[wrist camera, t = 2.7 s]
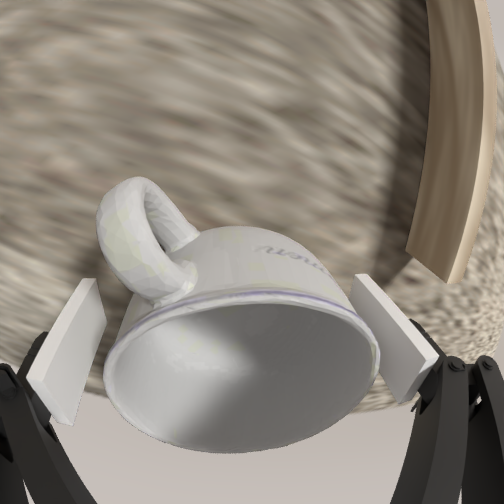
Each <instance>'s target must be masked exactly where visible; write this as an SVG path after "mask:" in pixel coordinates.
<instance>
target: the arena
mask: <svg viewBox="0 0 504 504" xmlns="http://www.w3.org/2000/svg"><path fill="white" fill-rule="evenodd" d="M426 6H427V15H428V26H429V40H430V103H429V118H428V129H427V139H426V148H425V155H424V163H423V169H422V175H421V181H420V187H419V192H418V198H417V202H416V207H415V212H414V216H413V221H412V225H411V229H410V233H409V237H408V241H407V245H406V249H405V251H406V252H408V253H409V254H410V255H411V256H413V257H414V258H415V259H417V260H418V261H419V262H420V263H422V264H423V265H424V266H425V267H427V268H428V269H429V270H430V271H432V272H433V273H434V274H435V275H436V276H438V277H439V278H440V279H441V280H443V281H444V282H445V283H446V284H450V283H457V282H461V280H462V278H463V275H464V272H465V269H466V267H467V264H468V261H469V258H470V255H471V252H472V249H473V245H474V242H475V239H476V235H477V232H478V228H479V225H480V221H481V217H482V213H483V208H484V204H485V200H486V195H487V190H488V185H489V179H490V173H491V167H492V160H493V152H494V142H495V131H496V113H497V79H496V62H495V51H494V42H493V35H492V28H491V22H490V17H489V12H488V7H487V3H486V0H426Z"/></svg>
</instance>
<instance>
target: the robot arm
mask: <svg viewBox="0 0 504 504" xmlns="http://www.w3.org/2000/svg"><path fill="white" fill-rule="evenodd" d="M348 300H349V302H350V303H351V305H352V306H353V308H354V310H355V311H356V313H357V315H358V316H359V317H361V318H362V319H363V320H364V322H365V323H366V324H367V325H368V326H369V328H370V329H371V330H372V332H373V334H374V336H375V338H376V340H377V342H378V346H379V349H380V364H379V373H380V374H381V376H382V377H383V379H384V381H385V382H386V384H387V386H388V387H389V389H390V391H391V392H392V394H393V396H394V397H395V399H396V401H397V402H398V404H401V403H404V402H407V401H410V400H412V399H413V397H414V396H415V394H416V393H417V391H418V392H419V394H420V395H421V396H420V398H419V399H418V400H417V402H416V403H415V405H414V406H413V407H412V409H411V412H413V411H414V409H415V408H416V407H417V409H416V414H415V419H414V424H413V428H412V433H411V437H410V441H409V445H408V449H407V453H406V457H405V460H404V463H403V467H402V470H401V473H400V477H399V480H398V483H397V486H396V489H395V491H394V494H393V497H392V500H391V502H390V504H458V500H459V495H460V490H461V489H462V504H504V380H503V378H502V375H501V373H500V370H499V368H498V365H497V363H496V362H495V361H494V360H493V358H491V357H489V356H486V355H482V356H480V357H479V358H478V359H477V361H476V362H475V364H465V363H464V361H462V360H461V359H460V358H457V357H455V356H448V357H447V356H446V355H445V353H444V352H443V351H442V350H441V349H440V347H439V346H438V345H437V344H436V343H435V342H434V340H433V339H432V338H430V336H429V335H428V334H427V332H425V330H424V329H423V328H422V327H421V326H420V324H418V323H417V322H415V321H414V320H412V319H408V318H407V317H406V316H405V315H404V314H403V313H402V311H401V310H400V309H399V308H398V307H397V306H396V305H395V304H394V302H393V301H392V300H391V299H390V298H389V297H388V296H387V295H386V294H385V293H384V292H383V290H382V289H381V288H380V287H379V286H378V285H377V284H376V283H375V282H374V281H373V280H372V279H371V278H370V277H369V276H368V275H367V274H355V275H354V279H353V283H352V287H351V291H350V295H349V299H348ZM106 325H107V320H106V316H105V313H104V309H103V305H102V301H101V297H100V293H99V289H98V284H97V280H96V278H83V279H82V281H81V282H80V284H79V285H78V287H77V288H76V290H75V291H74V293H73V294H72V296H71V297H70V299H69V300H68V302H67V304H66V305H65V307H64V308H63V310H62V312H61V313H60V315H59V317H58V318H57V320H56V322H55V323H54V325H53V327H52V329H51V330H50V332H43V333H42V334H40V335H39V336H38V337H37V338H36V339H35V341H34V343H33V344H32V346H31V349H30V350H29V352H28V353H27V354H28V355H26V357H25V359H24V361H23V363H22V365H21V367H20V369H19V370H18V373H17V374H15V373H14V371H13V370H12V368H11V366H9V365H8V364H4V363H1V364H0V504H29V502H28V499H27V495H26V491H25V487H24V482H25V485H26V487H27V489H28V491H29V493H30V495H31V497H32V499H33V501H34V503H35V504H97V503H96V501H95V500H94V498H93V497H92V496H91V494H90V493H89V491H88V490H87V488H86V487H85V485H84V484H83V482H82V480H81V479H80V477H79V476H78V474H77V472H76V471H75V469H74V467H73V465H72V464H71V462H70V460H69V458H68V456H67V455H66V453H65V451H64V449H63V447H62V445H61V443H60V442H59V439H58V437H57V435H56V433H55V431H54V429H53V427H52V425H51V424H50V422H49V420H50V417H51V415H52V416H53V418H54V419H55V420H56V421H57V422H58V423H61V424H66V425H70V426H73V425H74V421H75V417H76V414H77V410H78V407H79V403H80V400H81V397H82V393H83V390H84V387H85V384H86V381H87V378H88V375H89V372H90V369H91V366H92V363H93V360H94V357H95V354H96V352H97V349H98V346H99V343H100V341H101V338H102V335H103V333H104V330H105V328H106ZM479 396H481V399H482V401H481V402H480V403H479V404H478V403H477V399H478V398H479ZM23 480H24V482H23Z"/></svg>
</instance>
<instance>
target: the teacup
mask: <svg viewBox="0 0 504 504" xmlns="http://www.w3.org/2000/svg"><path fill="white" fill-rule="evenodd" d="M96 233H97V237H98V242H99V246H100V248H101V251H102V253H103V255H104V258H105V260H106V262H107V263H108V265H109V267H110V268H111V270H112V271H113V273H114V274H115V275H116V277H117V278H118V279H119V281H120V282H121V283H122V284H124V285H125V286H126V287H127V288H128V289H129V290H131V291H132V292H134V294H133V296H132V298H131V300H130V303H129V305H128V308H127V310H126V313H125V316H124V318H123V321H122V323H121V326H120V329H119V332H118V335H117V338H116V341H115V343H114V344H113V346H112V347H111V349H110V350H109V352H108V354H107V357H106V359H105V361H104V370H103V383H104V387H105V390H106V393H107V396H108V398H109V399H110V401H111V403H112V404H113V406H114V407H115V409H116V410H117V411H118V412H119V413H120V415H121V416H122V417H123V418H124V419H125V420H126V421H127V422H129V423H130V424H131V425H132V426H134V427H135V428H137V429H138V430H140V431H142V432H143V433H145V434H147V435H149V436H150V437H153V438H155V439H157V440H159V441H162V442H164V443H168V444H171V445H174V446H177V447H180V448H185V449H190V450H194V451H201V452H209V453H246V452H253V451H262V450H268V449H273V448H279V447H284V446H288V445H289V444H292V443H295V442H298V441H301V440H304V439H306V438H309V437H311V436H314V435H316V434H318V433H319V432H321V431H323V430H325V429H327V428H329V427H330V426H332V425H333V424H335V423H336V422H338V421H339V420H341V419H342V418H343V417H345V416H346V415H347V414H349V413H350V412H351V411H352V410H353V409H354V408H355V407H356V406H357V405H358V404H359V403H360V401H361V400H362V399H363V398H364V397H365V396H366V395H367V393H368V392H369V390H370V388H371V387H372V385H373V383H374V381H375V378H376V377H377V374H378V371H379V364H380V349H379V346H378V342H377V340H376V338H375V336H374V334H373V332H372V330H371V329H370V328H369V326H368V325H367V324H366V323H365V322H364V320H363V319H362V318H361V317H359V316H358V315H357V313H356V311H355V310H354V308H353V306H352V305H351V303H350V302H349V300H348V299H347V297H346V296H345V294H344V293H343V291H342V290H341V288H340V287H339V285H338V284H337V282H336V281H335V280H334V278H333V277H332V276H331V274H330V273H329V272H328V271H327V269H326V268H325V267H324V266H323V265H322V263H321V262H320V261H319V260H318V259H317V258H316V257H315V256H314V255H313V254H312V253H311V252H309V251H308V250H307V249H306V248H304V247H303V246H302V245H300V244H299V243H297V242H295V241H294V240H292V239H290V238H288V237H286V236H284V235H282V234H279V233H276V232H273V231H270V230H267V229H262V228H258V227H249V226H224V227H218V228H213V229H208V230H205V231H202V232H199V231H197V229H196V228H195V227H194V226H193V225H191V224H190V223H189V222H188V221H187V220H186V219H185V218H184V216H183V215H182V214H181V212H180V211H179V210H178V209H177V207H176V206H175V205H174V204H173V202H172V201H171V200H170V199H169V198H168V197H167V196H166V194H165V193H164V192H163V191H162V190H161V189H160V188H159V187H158V186H157V185H156V184H155V183H153V182H152V181H150V180H149V179H147V178H144V177H133V178H129V179H126V180H124V181H122V182H121V183H119V184H118V185H117V186H115V187H114V188H112V189H111V190H110V191H108V192H107V193H106V194H105V195H104V197H103V199H102V201H101V203H100V204H99V207H98V210H97V214H96ZM157 241H158V242H159V243H160V244H161V245H162V247H163V248H164V249H165V252H164V251H163V250H162V249H161V247H160V245H159V243H158V242H157Z"/></svg>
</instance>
